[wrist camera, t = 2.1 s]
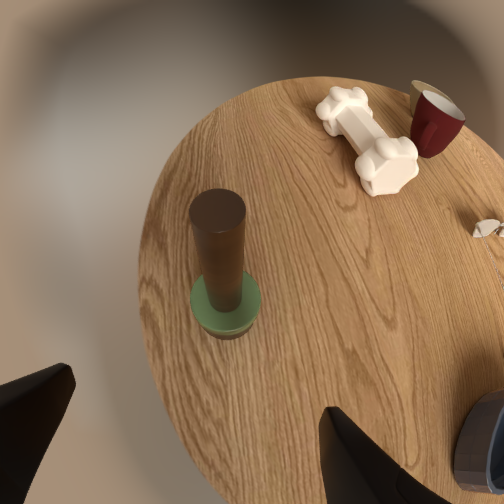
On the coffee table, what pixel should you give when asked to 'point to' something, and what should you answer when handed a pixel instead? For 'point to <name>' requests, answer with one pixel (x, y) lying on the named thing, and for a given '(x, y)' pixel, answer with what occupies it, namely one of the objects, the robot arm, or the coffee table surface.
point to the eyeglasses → (488, 232)
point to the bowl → (482, 447)
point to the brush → (222, 266)
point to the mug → (434, 124)
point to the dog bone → (369, 142)
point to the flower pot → (416, 91)
